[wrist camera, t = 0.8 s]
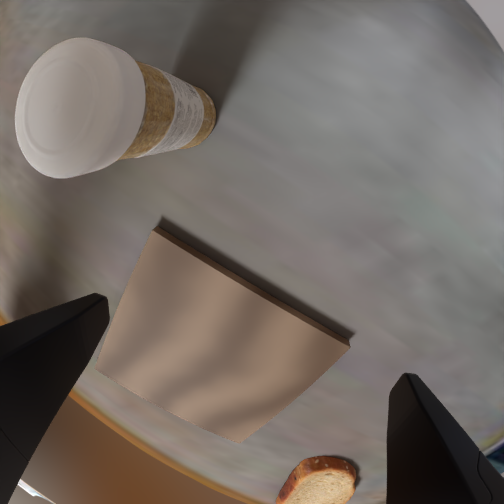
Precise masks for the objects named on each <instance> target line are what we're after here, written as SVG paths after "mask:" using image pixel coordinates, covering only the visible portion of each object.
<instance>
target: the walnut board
mask: <svg viewBox="0 0 504 504" xmlns="http://www.w3.org/2000/svg"><path fill="white" fill-rule="evenodd" d="M349 349H350V344H349V340H347V339H345V338H344V337H342V336H340V335H338V334H337V333H335V332H333V331H331V330H330V329H328V328H326V327H324V326H323V325H321V324H319V323H317V322H316V321H314V320H312V319H310V318H309V317H307V316H305V315H304V314H302V313H300V312H298V311H297V310H295V309H293V308H292V307H290V306H288V305H286V304H285V303H283V302H281V301H280V300H278V299H276V298H274V297H273V296H271V295H269V294H268V293H266V292H264V291H263V290H261V289H259V288H258V287H256V286H254V285H253V284H251V283H249V282H248V281H246V280H244V279H243V278H241V277H239V276H238V275H236V274H234V273H233V272H231V271H229V270H228V269H226V268H224V267H223V266H221V265H219V264H218V263H216V262H214V261H213V260H211V259H210V258H208V257H206V256H205V255H203V254H201V253H200V252H198V251H197V250H195V249H193V248H192V247H190V246H188V245H187V244H185V243H184V242H182V241H180V240H179V239H177V238H176V237H174V236H172V235H171V234H169V233H168V232H166V231H164V230H163V229H161V228H160V227H158V226H157V227H156V228H154V229H153V230H152V232H151V234H150V236H149V238H148V240H147V242H146V244H145V246H144V249H143V251H142V253H141V255H140V257H139V259H138V262H137V264H136V266H135V268H134V270H133V273H132V275H131V277H130V279H129V282H128V284H127V286H126V289H125V291H124V293H123V296H122V298H121V300H120V303H119V305H118V308H117V310H116V313H115V315H114V318H113V320H112V323H111V325H110V328H109V330H108V333H107V335H106V338H105V341H104V343H103V346H102V349H101V351H100V354H99V357H98V360H97V363H96V365H95V368H94V369H96V370H97V371H99V372H100V373H102V374H103V375H105V376H107V377H108V378H110V379H111V380H113V381H115V382H116V383H118V384H119V385H121V386H123V387H124V388H126V389H128V390H129V391H131V392H133V393H135V394H136V395H138V396H140V397H142V398H143V399H145V400H147V401H149V402H151V403H153V404H154V405H156V406H158V407H160V408H162V409H164V410H166V411H168V412H170V413H172V414H174V415H176V416H178V417H180V418H182V419H184V420H186V421H188V422H190V423H192V424H194V425H196V426H199V427H201V428H203V429H205V430H208V431H210V432H212V433H214V434H217V435H219V436H222V437H224V438H226V439H229V440H231V441H234V442H236V443H241V442H242V441H243V440H245V439H246V438H248V437H249V436H250V435H251V434H253V433H254V432H255V431H257V430H258V429H259V428H261V427H262V426H263V425H264V424H266V423H267V422H268V421H269V420H271V419H272V418H273V417H274V416H276V415H277V414H278V413H279V412H280V411H282V410H283V409H284V408H285V407H286V406H288V405H289V404H290V403H291V402H292V401H294V400H295V399H296V398H297V397H298V396H299V395H300V394H302V393H303V392H304V391H305V390H306V389H307V388H308V387H309V386H311V385H312V384H313V383H314V382H315V381H316V380H317V379H318V378H319V377H320V376H322V375H323V374H324V373H325V372H326V371H327V370H328V369H329V368H330V367H331V366H332V365H333V364H334V363H335V362H336V361H337V360H338V359H339V358H340V357H341V356H342V355H343V354H345V353H346V352H347V351H348V350H349Z"/></svg>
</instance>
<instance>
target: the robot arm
mask: <svg viewBox="0 0 504 504" xmlns="http://www.w3.org/2000/svg"><path fill="white" fill-rule="evenodd" d="M109 320H110V316H109V306H108V299H107V297H105V296H103V295H101V294H98V293H93V294H90V295H87V296H84V297H81V298H78V299H75V300H73V301H70V302H67V303H64V304H61V305H58V306H56V307H53V308H50V309H47V310H44V311H41V312H39V313H36V314H33V315H30V316H27V317H24V318H22V319H19V320H16V321H13V322H10V323H8V324H5V325H2V326H0V504H8V502H9V500H10V498H11V496H12V494H13V492H14V490H15V488H16V486H17V484H18V482H19V480H20V478H21V476H22V474H23V472H24V470H25V468H26V467H27V465H28V463H29V461H30V459H31V457H32V455H33V453H34V452H35V450H36V448H37V446H38V444H39V443H40V441H41V439H42V437H43V436H44V434H45V432H46V430H47V429H48V427H49V425H50V423H51V422H52V420H53V418H54V417H55V415H56V414H57V412H58V410H59V408H60V407H61V405H62V404H63V402H64V400H65V399H66V397H67V396H68V394H69V392H70V391H71V389H72V388H73V386H74V385H75V383H76V381H77V380H78V378H79V377H80V375H81V374H82V372H83V371H84V369H85V367H86V366H87V364H88V363H89V361H90V359H91V357H92V355H93V353H94V351H95V349H96V347H97V345H98V343H99V341H100V340H101V338H102V336H103V334H104V332H105V330H106V328H107V326H108V324H109ZM386 504H504V478H503V477H502V476H501V474H500V473H499V472H498V471H497V470H496V469H495V468H494V467H493V465H492V464H491V463H490V462H489V461H488V459H487V458H486V457H485V456H484V454H483V453H482V452H481V451H479V448H478V447H477V446H476V444H475V443H474V442H473V441H472V439H471V438H470V437H469V436H468V434H467V433H466V432H465V431H464V430H463V428H462V427H461V426H460V425H459V424H458V422H457V421H456V420H455V419H454V418H453V416H452V415H451V414H450V413H449V412H448V410H447V409H446V408H445V407H444V406H443V404H442V403H441V402H440V401H439V400H438V399H437V397H436V396H435V395H434V394H433V393H432V392H431V390H430V389H429V388H428V387H427V386H426V385H425V383H424V382H423V381H422V380H421V379H420V378H419V377H418V375H416V374H413V373H404V374H402V376H401V377H400V378H399V380H398V381H397V383H396V384H395V385H394V387H393V388H392V390H391V392H390V395H389V410H388V427H387V498H386Z"/></svg>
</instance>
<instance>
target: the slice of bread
mask: <svg viewBox="0 0 504 504" xmlns="http://www.w3.org/2000/svg"><path fill="white" fill-rule="evenodd" d="M355 480H356V472H355V468H354V467H353V466H352V465H351V464H349V463H348V462H346V461H344V460H342V459H338V458H334V457H326V456H317V457H312V458H307V459H305V460H303V461H301V462H300V464H299V465H298V466H297V467H296V468H295V469H294V470H293V471H292V473H291V474H290V475H289V477H288V480H287V481H286V483H285V484H284V486H283V487H282V489H281V491H280V492H279V495H278V497H277V499H276V504H345V503H346V502H347V501H348V500H349V499H350V498H351V496H352V495H353V494H354V492H355V484H354V483H355Z"/></svg>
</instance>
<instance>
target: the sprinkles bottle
mask: <svg viewBox="0 0 504 504" xmlns="http://www.w3.org/2000/svg"><path fill="white" fill-rule="evenodd" d="M215 119H216V111H215V107H214V103H213V101H212V99H211V98H210V97H209V95H208V94H207V93H205V92H204V91H203V90H202V89H200V88H197V87H195V86H191V85H190V84H188V83H187V82H185V81H183V80H181V79H179V78H177V77H175V76H173V75H171V74H169V73H166V72H164V71H162V70H160V69H158V68H156V67H153V66H151V65H147V64H144V63H141V62H138V61H135V60H134V59H133V58H132V57H131V56H130V55H129V54H128V53H126V52H125V51H123V50H121V49H119V48H117V47H115V46H112V45H110V44H107V43H104V42H101V41H98V40H95V39H90V38H72V39H68V40H65V41H63V42H60V43H58V44H56V45H55V46H53V47H52V48H50V49H49V50H47V51H46V52H45V53H44V54H43V55H42V56H41V57H40V58H39V59H38V60H37V61H36V62H35V63H34V65H33V66H32V67H31V69H30V70H29V72H28V74H27V75H26V77H25V79H24V81H23V84H22V86H21V89H20V92H19V95H18V99H17V103H16V110H15V128H16V135H17V139H18V143H19V146H20V149H21V151H22V153H23V154H24V156H25V158H26V159H27V161H28V162H29V163H30V165H31V166H33V167H34V168H35V169H36V170H37V171H39V172H40V173H42V174H44V175H46V176H49V177H53V178H71V177H75V176H79V175H83V174H87V173H90V172H94V171H97V170H101V169H103V168H105V167H107V166H109V165H110V164H112V163H114V162H115V161H117V160H120V159H126V158H138V157H143V156H147V155H152V154H157V153H161V152H166V151H171V150H175V149H184V148H190V147H193V146H196V145H198V144H200V143H201V142H202V141H203V140H205V139H206V138H207V137H208V136H209V134H210V133H211V131H212V129H213V127H214V125H215Z"/></svg>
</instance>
